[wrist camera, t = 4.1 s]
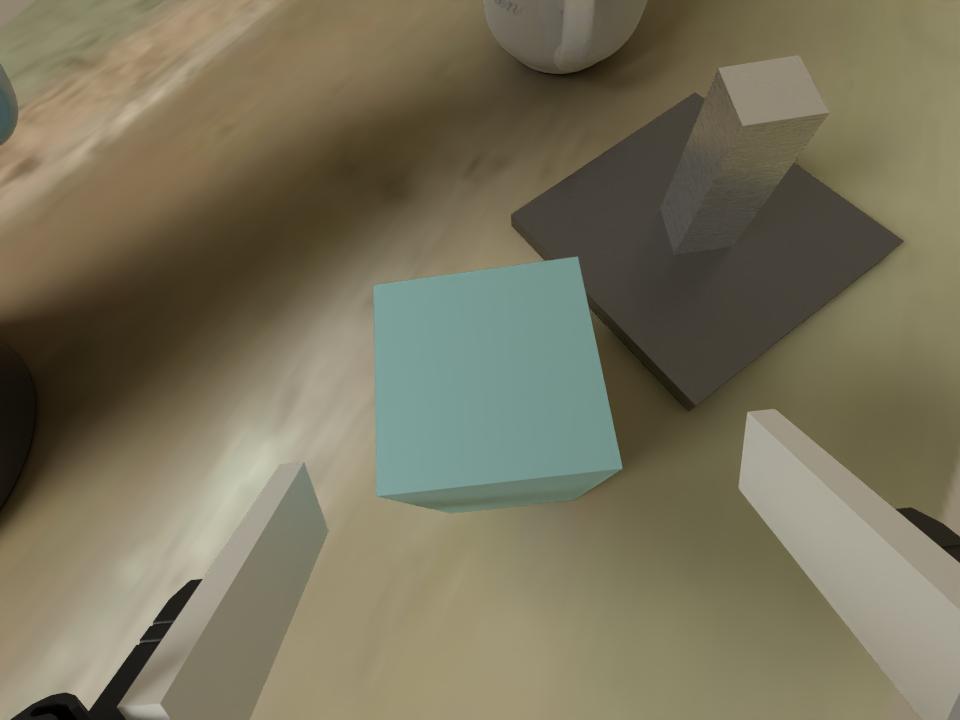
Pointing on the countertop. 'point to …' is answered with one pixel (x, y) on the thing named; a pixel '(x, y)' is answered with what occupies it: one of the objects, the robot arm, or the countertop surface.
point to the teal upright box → (490, 389)
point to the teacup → (562, 30)
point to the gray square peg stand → (709, 228)
